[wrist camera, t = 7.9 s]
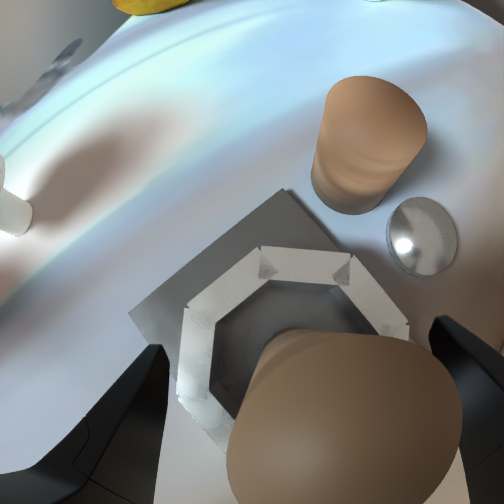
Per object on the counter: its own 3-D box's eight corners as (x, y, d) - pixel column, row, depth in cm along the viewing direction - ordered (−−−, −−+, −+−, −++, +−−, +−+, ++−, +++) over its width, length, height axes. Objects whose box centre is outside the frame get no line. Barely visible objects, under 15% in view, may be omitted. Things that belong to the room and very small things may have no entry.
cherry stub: (398, 185, 18) (444, 127, 12) (348, 230, 18) (386, 180, 11) (346, 134, 20) (369, 64, 13) (294, 173, 19) (302, 102, 12)
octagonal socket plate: (440, 381, 15) (465, 389, 12) (294, 501, 14) (296, 527, 11) (282, 192, 19) (283, 168, 16) (132, 313, 18) (107, 310, 15)
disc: (459, 244, 18) (468, 239, 16) (419, 293, 17) (427, 291, 16) (413, 190, 19) (421, 183, 17) (369, 234, 18) (375, 229, 17)
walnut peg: (335, 339, 16) (490, 366, 3) (311, 399, 15) (396, 548, 3) (274, 318, 17) (283, 298, 4) (250, 378, 16) (192, 512, 3)
